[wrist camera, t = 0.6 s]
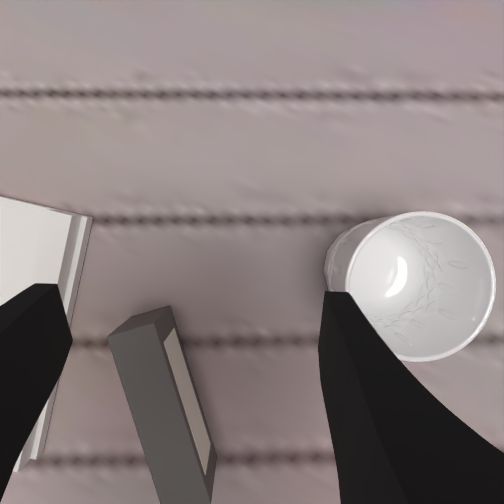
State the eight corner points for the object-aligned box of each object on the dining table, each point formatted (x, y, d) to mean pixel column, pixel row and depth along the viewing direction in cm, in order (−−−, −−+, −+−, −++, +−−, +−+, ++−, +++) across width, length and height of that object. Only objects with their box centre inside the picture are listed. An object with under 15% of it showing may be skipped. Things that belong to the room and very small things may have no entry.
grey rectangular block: (217, 454, 34) (211, 503, 28) (178, 466, 34) (164, 517, 28) (170, 304, 34) (154, 322, 28) (130, 316, 34) (105, 337, 28)
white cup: (293, 263, 33) (313, 280, 23) (375, 192, 33) (431, 179, 23) (362, 342, 34) (411, 392, 24) (443, 273, 33) (527, 294, 24)
